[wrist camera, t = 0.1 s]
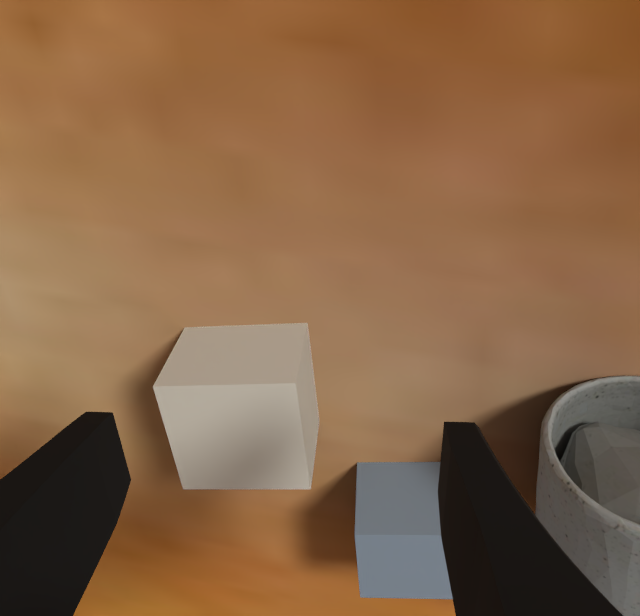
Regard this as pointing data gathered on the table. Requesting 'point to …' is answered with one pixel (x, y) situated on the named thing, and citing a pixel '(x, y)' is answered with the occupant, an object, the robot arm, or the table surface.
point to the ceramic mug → (595, 484)
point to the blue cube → (399, 531)
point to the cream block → (241, 407)
